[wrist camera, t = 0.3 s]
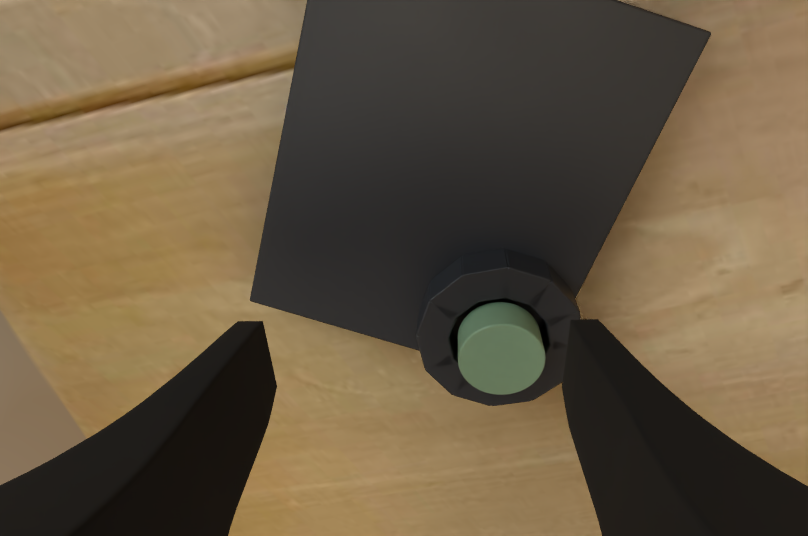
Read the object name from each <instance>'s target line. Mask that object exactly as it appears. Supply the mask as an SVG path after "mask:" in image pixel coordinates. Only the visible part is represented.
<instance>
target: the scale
mask: <svg viewBox="0 0 808 536" xmlns="http://www.w3.org/2000/svg"><path fill="white" fill-rule="evenodd" d="M710 35H711V33H710V32H709V31H706V30H703V29H700V28H697V27H694V26H692V25H689V24H686V23H683V22H680V21H677V20H674V19H671V18H668V17H665V16H662V15H659V14H656V13H653V12H650V11H647V10H644V9H641V8H638V7H635V6H632V5H629V4H627V3H624V2H621V1H618V0H307V5H306V10H305V16H304V21H303V26H302V31H301V36H300V42H299V47H298V52H297V57H296V62H295V68H294V73H293V78H292V83H291V88H290V94H289V99H288V104H287V109H286V114H285V120H284V125H283V130H282V135H281V140H280V146H279V151H278V156H277V161H276V166H275V172H274V177H273V182H272V187H271V192H270V198H269V203H268V208H267V213H266V218H265V224H264V229H263V234H262V239H261V244H260V250H259V255H258V260H257V265H256V270H255V276H254V281H253V286H252V291H251V297H250V301H252V302H255V303H259V304H262V305H265V306H269V307H272V308H276V309H279V310H283V311H286V312H289V313H293V314H296V315H300V316H303V317H306V318H310V319H313V320H317V321H320V322H323V323H327V324H330V325H334V326H337V327H341V328H344V329H347V330H351V331H354V332H358V333H361V334H364V335H368V336H371V337H375V338H378V339H381V340H385V341H388V342H392V343H395V344H399V345H402V346H405V347H409V348H412V349H416V350H419V351H420V353H421V357H422V360H423V364H424V368H425V370H426V371H427V372H428V373H429V374H430V375H431V376H432V377H433V378H434V379H435V380H436V381H438V382H439V383H440V384H441V385H442V386H443V387H444V388H445V389H446V390H447V391H448V392H449V393H451V394H452V395H454V396H457V397H461V398H464V399H468V400H471V401H475V402H478V403H482V404H485V405H488V406H491V405H492V406H497V405H504V404H512V403H520V402H527V401H531V400H534V399H536V398H538V397H539V396H541V395H542V394H544V393H546V392H547V391H549V390H550V389H552V388H554V387H555V386H557V385H559V384H560V383H562V382H563V375H564V367H565V360H566V352H567V344H568V336H569V329H570V321H571V320H581V318H580V311H579V308H578V306H577V303H576V300H575V298H576V296H577V294H578V292H579V290H580V288H581V286H582V285H583V283H584V281H585V279H586V277H587V275H588V273H589V271H590V269H591V267H592V265H593V263H594V261H595V259H596V257H597V255H598V253H599V251H600V250H601V248H602V246H603V244H604V242H605V240H606V238H607V236H608V234H609V232H610V230H611V228H612V226H613V224H614V222H615V220H616V218H617V216H618V214H619V213H620V211H621V209H622V207H623V205H624V203H625V201H626V199H627V197H628V195H629V193H630V191H631V189H632V187H633V185H634V183H635V181H636V179H637V177H638V176H639V174H640V172H641V170H642V168H643V166H644V164H645V162H646V160H647V158H648V156H649V154H650V152H651V150H652V148H653V146H654V144H655V142H656V140H657V139H658V137H659V135H660V133H661V131H662V129H663V127H664V125H665V123H666V121H667V119H668V117H669V115H670V113H671V111H672V109H673V107H674V105H675V104H676V102H677V100H678V98H679V96H680V94H681V92H682V90H683V88H684V86H685V84H686V82H687V80H688V78H689V76H690V74H691V72H692V70H693V68H694V67H695V65H696V63H697V61H698V59H699V57H700V55H701V53H702V51H703V49H704V47H705V45H706V43H707V41H708V39H709V37H710ZM493 302H506V303H511V304H515V305H517V306H520V307H522V308H523V309H525V310H526V311H528V312H529V313H530V314H531V315H532V316H533V317H534V319H535V320H536V322H537V324H538V326H539V330H540V334H541V338H542V342H543V346H544V351H545V357H546V359H545V366H544V369H543V371H542V373H541V375H540V376H539V378H538V379H537V380H536V381H535V382H534V383H533V384H532V385H530V386H529V387H528V388H526V389H524V390H522V391H519V392H516V393H512V394H506V395H496V394H490V393H486V392H483V391H481V390H478V389H477V388H475V387H473V386H472V385H471V384H470V383H468V381H467V380H466V379H465V378H464V377H463V375H462V373H461V371H460V369H459V365H458V330H459V327H460V325H461V323H462V321H463V320H464V318H465V317H466V316H467V315H468V314H469V313H470V312H471V311H472V310H474V309H476V308H477V307H479V306H482V305H484V304H488V303H493Z"/></svg>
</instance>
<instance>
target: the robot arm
mask: <svg viewBox="0 0 808 536" xmlns="http://www.w3.org/2000/svg"><path fill="white" fill-rule="evenodd" d="M276 388H277V384H276V380H275V375H274V371H273V366H272V361H271V357H270V352H269V348H268V343H267V338H266V334H265V329H264V325H263V321H238V322H237V323H235V324H234V325H233V326H232V327H231V328H229V329H228V330H227V331H226V332H225V333H224V334H223V335H222V336H220V337H219V338H218V339H217V340H216V341H215V342H214V343H213V344H211V345H210V346H209V347H208V348H207V349H206V350H205V351H204V352H202V353H201V354H200V355H199V356H198V357H197V358H196V359H194V360H193V361H192V362H191V363H190V364H189V365H188V366H186V367H185V368H184V369H183V370H182V371H181V372H179V373H178V374H177V375H176V376H175V377H173V378H172V379H171V380H170V381H168V382H167V383H166V384H165V385H163V386H162V387H161V388H159V389H158V390H157V391H156V392H154V393H153V394H152V395H151V396H149V397H148V398H147V399H146V400H144V401H143V402H142V403H140V404H139V405H138V406H136V407H135V408H133V409H132V410H131V411H129V412H128V413H126V414H125V415H124V416H122V417H121V418H119V419H118V420H116V421H115V422H113V423H112V424H110V425H109V426H107V427H106V428H104V429H103V430H101V431H99V432H98V433H96V434H95V435H93V436H91V437H90V438H88V439H86V440H84V441H83V442H81V443H79V444H78V445H76V446H74V447H73V448H71V449H69V450H67V451H66V452H64V453H62V454H60V455H59V456H57V457H55V458H53V459H52V460H50V461H48V462H46V463H44V464H42V465H41V466H38V467H36V468H35V469H33V470H31V471H29V472H27V473H25V474H23V475H21V476H19V477H17V478H14V479H12V480H10V481H8V482H6V483H4V484H3V485H0V536H228V534H229V530H230V526H231V523H232V520H233V517H234V514H235V511H236V508H237V506H238V503H239V500H240V498H241V495H242V492H243V490H244V487H245V485H246V482H247V479H248V477H249V474H250V471H251V469H252V466H253V464H254V461H255V458H256V456H257V453H258V450H259V448H260V445H261V442H262V440H263V437H264V434H265V432H266V429H267V426H268V423H269V419H270V415H271V411H272V406H273V402H274V397H275V393H276ZM562 390H563V396H564V402H565V408H566V413H567V418H568V424H569V428H570V431H571V435H572V438H573V441H574V444H575V448H576V451H577V454H578V457H579V460H580V464H581V467H582V470H583V473H584V476H585V479H586V482H587V486H588V489H589V492H590V495H591V498H592V501H593V505H594V508H595V511H596V514H597V518H598V521H599V525H600V529H601V532H602V536H808V486H806V485H804V484H803V483H801V482H799V481H797V480H796V479H794V478H792V477H791V476H789V475H787V474H785V473H784V472H782V471H780V470H779V469H777V468H775V467H774V466H772V465H771V464H769V463H767V462H766V461H764V460H763V459H761V458H760V457H758V456H756V455H755V454H753V453H752V452H750V451H748V450H747V449H745V448H744V447H742V446H741V445H740V444H738V443H737V442H735V441H734V440H732V439H731V438H729V437H728V436H727V435H725V434H724V433H722V432H721V431H720V430H718V429H717V428H716V427H714V426H713V425H712V424H710V423H709V422H708V421H706V420H705V419H703V418H702V417H701V416H700V415H698V414H697V413H696V412H695V411H693V410H692V409H691V408H690V407H688V406H687V405H686V404H685V403H684V402H683V401H681V400H680V399H679V398H678V397H677V396H675V395H674V394H673V393H672V392H671V391H670V390H668V389H667V388H666V387H665V386H664V385H663V384H662V383H661V382H660V381H659V380H657V379H656V378H655V377H654V376H653V375H652V374H651V373H650V372H649V371H648V370H647V369H646V368H645V367H644V366H643V365H642V364H641V363H640V362H639V361H638V360H637V359H636V358H635V357H634V356H633V355H632V354H631V353H630V352H629V351H628V350H627V349H626V348H625V347H624V346H623V345H622V344H621V343H620V342H619V341H618V340H617V339H616V338H615V337H614V335H613V334H612V333H611V332H610V331H609V330H608V329H607V328H606V327H605V326H604V325H603V324H602V323H601V322H600V321H599V320H598V319H586V320H571V321H570V329H569V336H568V344H567V352H566V360H565V367H564V375H563V383H562Z"/></svg>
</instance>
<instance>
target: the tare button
mask: <svg viewBox="0 0 808 536" xmlns="http://www.w3.org/2000/svg"><path fill="white" fill-rule="evenodd" d="M545 359H546V357H545V351H544V346H543V342H542V338H541V334H540V330H539V326H538V324H537V322H536V320H535V319H534V317H533V316H532V315H531V314H530V313H529V312H528V311H526V310H525V309H523V308H522V307H520V306H517V305H515V304H511V303H506V302H493V303H488V304H484V305H482V306H479V307H477V308H476V309H474V310H472V311H471V312H470V313H469V314H468V315H467V316H466V317H465V318H464V320H463V321H462V323H461V325H460V327H459V330H458V365H459V369H460V371H461V373H462V375H463V377H464V378H465V379H466V380H467V381H468V383H470V384H471V385H472V386H473V387H475V388H477V389H478V390H481V391H483V392H486V393H490V394H496V395H506V394H512V393H516V392H519V391H522V390H524V389H526V388H528V387H529V386H530V385H532V384H533V383H534V382H535V381H536V380H537V379H538V378H539V376H540V375H541V373H542V371H543V369H544V366H545Z"/></svg>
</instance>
